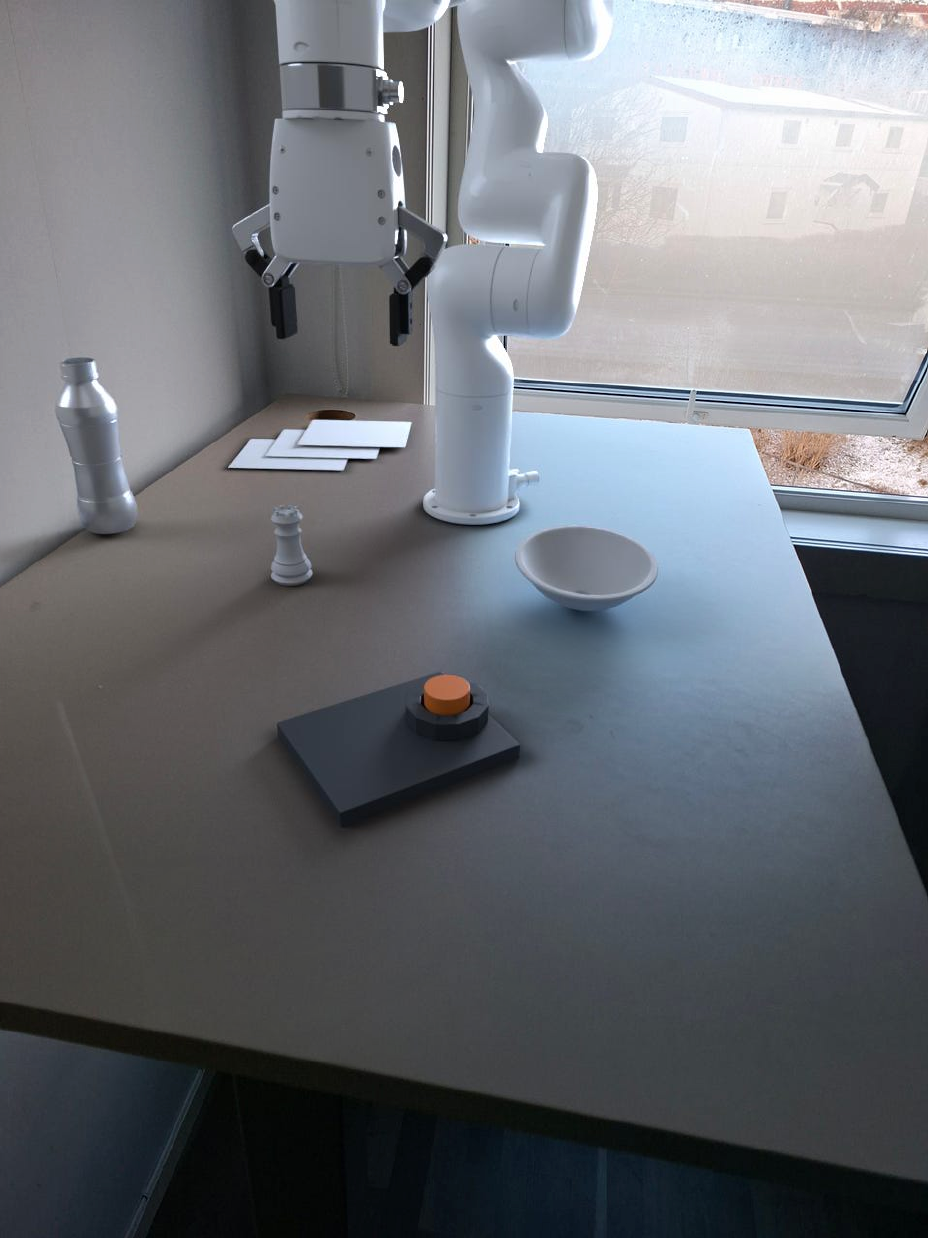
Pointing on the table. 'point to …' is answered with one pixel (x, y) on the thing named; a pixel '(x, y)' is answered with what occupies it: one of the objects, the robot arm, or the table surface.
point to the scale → (392, 748)
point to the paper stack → (323, 445)
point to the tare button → (446, 695)
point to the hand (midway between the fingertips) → (342, 339)
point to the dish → (586, 566)
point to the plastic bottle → (94, 449)
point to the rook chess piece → (289, 549)
